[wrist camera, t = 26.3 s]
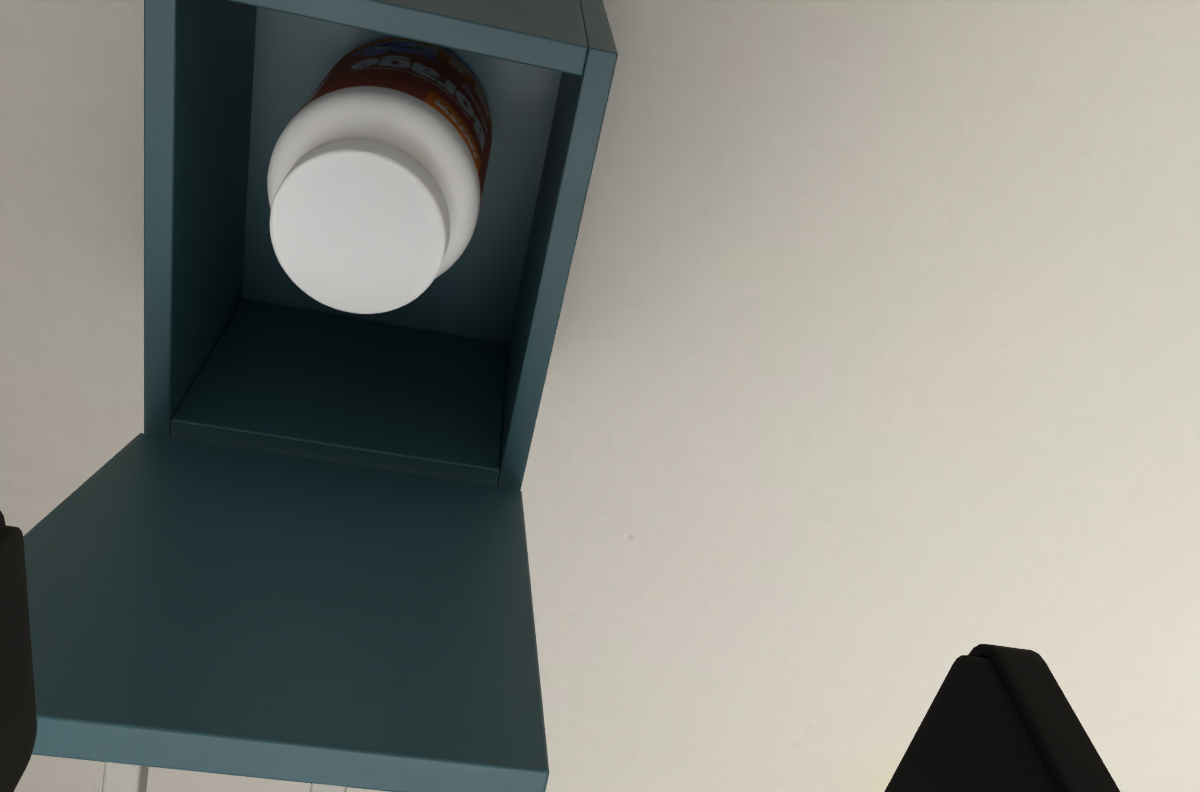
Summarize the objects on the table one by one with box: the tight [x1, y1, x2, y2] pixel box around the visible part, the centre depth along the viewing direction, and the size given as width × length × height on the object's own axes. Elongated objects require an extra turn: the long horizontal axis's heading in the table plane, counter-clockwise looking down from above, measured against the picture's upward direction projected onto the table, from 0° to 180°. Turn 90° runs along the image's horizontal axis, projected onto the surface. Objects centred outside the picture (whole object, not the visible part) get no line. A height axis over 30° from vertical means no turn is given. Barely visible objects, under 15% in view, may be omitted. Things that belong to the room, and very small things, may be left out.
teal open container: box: [144, 0, 618, 490], centre depth 34 cm, size 15×12×10 cm
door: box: [23, 433, 549, 792], centre depth 26 cm, size 15×12×5 cm
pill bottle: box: [267, 37, 492, 314], centre depth 32 cm, size 6×6×11 cm
